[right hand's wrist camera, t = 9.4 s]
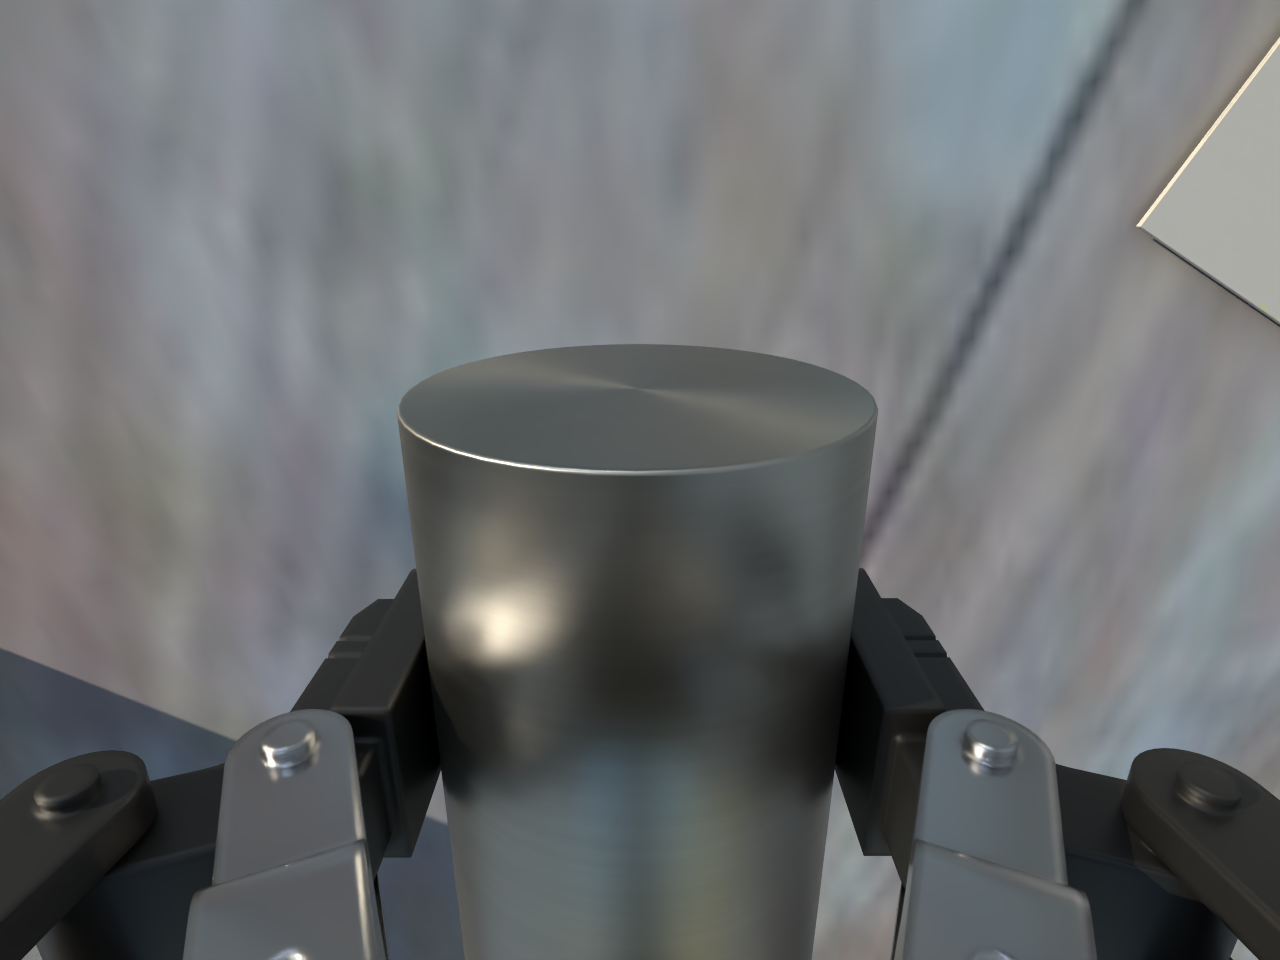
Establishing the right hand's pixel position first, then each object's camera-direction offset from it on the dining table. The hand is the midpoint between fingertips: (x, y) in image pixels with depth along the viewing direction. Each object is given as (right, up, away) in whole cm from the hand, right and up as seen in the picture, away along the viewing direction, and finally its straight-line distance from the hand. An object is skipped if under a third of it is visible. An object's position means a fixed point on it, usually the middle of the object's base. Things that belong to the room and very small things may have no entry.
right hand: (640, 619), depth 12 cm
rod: (0, -8, +5) cm, 10 cm away
